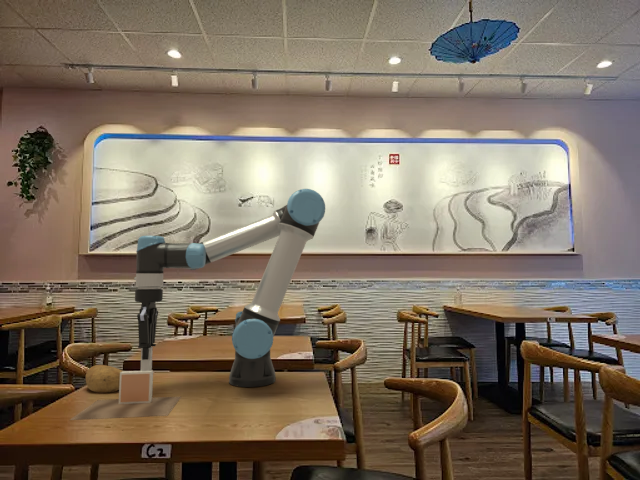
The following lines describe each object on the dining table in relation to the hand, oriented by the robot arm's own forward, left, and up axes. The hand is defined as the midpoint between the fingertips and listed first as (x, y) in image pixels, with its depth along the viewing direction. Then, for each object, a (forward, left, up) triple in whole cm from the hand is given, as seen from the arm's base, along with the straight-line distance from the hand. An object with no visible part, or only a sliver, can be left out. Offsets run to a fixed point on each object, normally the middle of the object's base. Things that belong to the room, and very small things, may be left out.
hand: (146, 370), depth 117 cm
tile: (0, +9, -6) cm, 11 cm away
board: (0, +13, -8) cm, 15 cm away
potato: (+13, -6, -8) cm, 16 cm away
